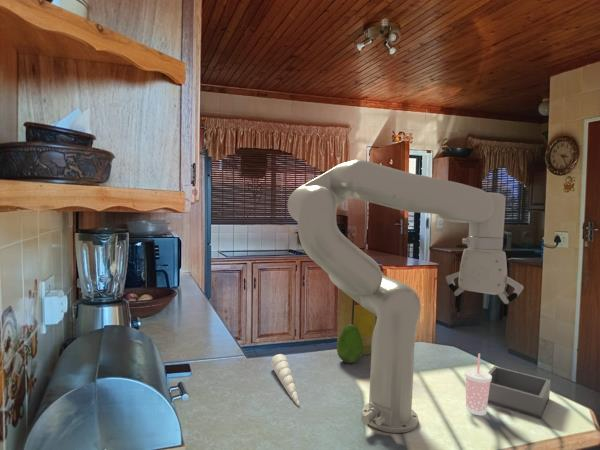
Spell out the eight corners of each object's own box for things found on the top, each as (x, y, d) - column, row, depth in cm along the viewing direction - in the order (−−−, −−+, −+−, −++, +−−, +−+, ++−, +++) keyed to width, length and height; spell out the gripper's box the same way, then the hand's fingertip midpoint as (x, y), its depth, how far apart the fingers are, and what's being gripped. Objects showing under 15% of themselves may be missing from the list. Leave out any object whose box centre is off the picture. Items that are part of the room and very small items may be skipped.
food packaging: (376, 354, 135) (379, 279, 134) (349, 356, 132) (352, 279, 131) (360, 341, 148) (363, 272, 146) (335, 342, 145) (338, 272, 144)
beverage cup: (465, 401, 104) (468, 347, 103) (492, 409, 100) (495, 353, 99) (459, 411, 99) (462, 354, 98) (487, 419, 95) (490, 360, 94)
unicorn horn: (283, 409, 97) (284, 389, 97) (270, 369, 120) (271, 353, 120) (302, 408, 98) (303, 388, 98) (286, 369, 121) (287, 353, 121)
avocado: (354, 369, 122) (356, 329, 121) (331, 362, 126) (333, 324, 126) (366, 361, 129) (367, 323, 128) (343, 355, 133) (345, 318, 132)
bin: (540, 419, 96) (542, 398, 96) (479, 400, 105) (480, 381, 104) (549, 398, 107) (550, 380, 107) (493, 383, 115) (494, 365, 115)
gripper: (443, 242, 100) (439, 311, 101) (523, 248, 90) (517, 326, 90) (453, 240, 106) (449, 306, 107) (528, 247, 95) (523, 319, 96)
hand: (480, 315), depth 99 cm, fingers open, 9 cm apart
